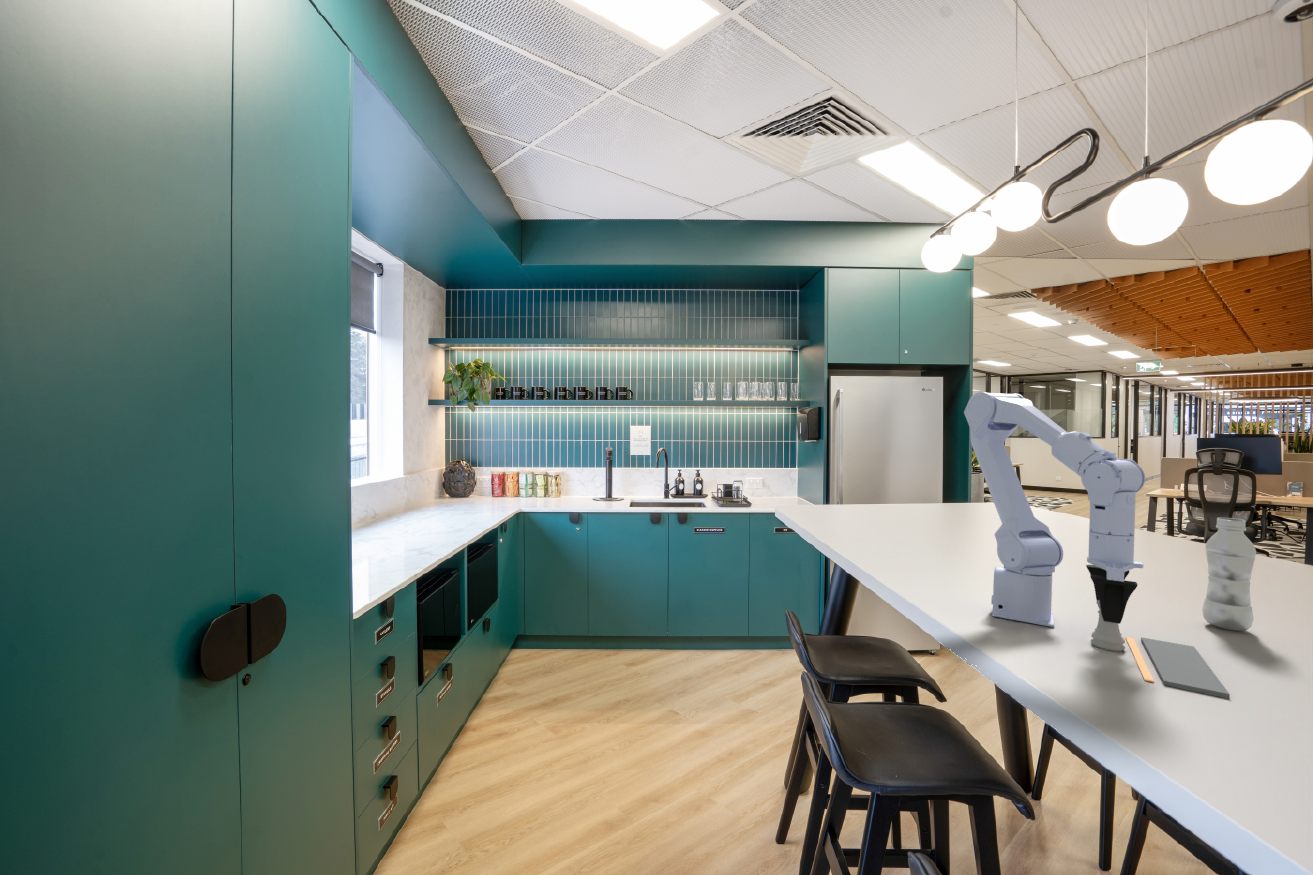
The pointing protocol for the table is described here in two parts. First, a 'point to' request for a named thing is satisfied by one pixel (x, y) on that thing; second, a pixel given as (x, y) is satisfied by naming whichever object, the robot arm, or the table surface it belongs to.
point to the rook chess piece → (1107, 635)
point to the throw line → (1139, 660)
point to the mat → (1183, 667)
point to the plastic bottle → (1229, 576)
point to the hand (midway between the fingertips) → (1108, 615)
